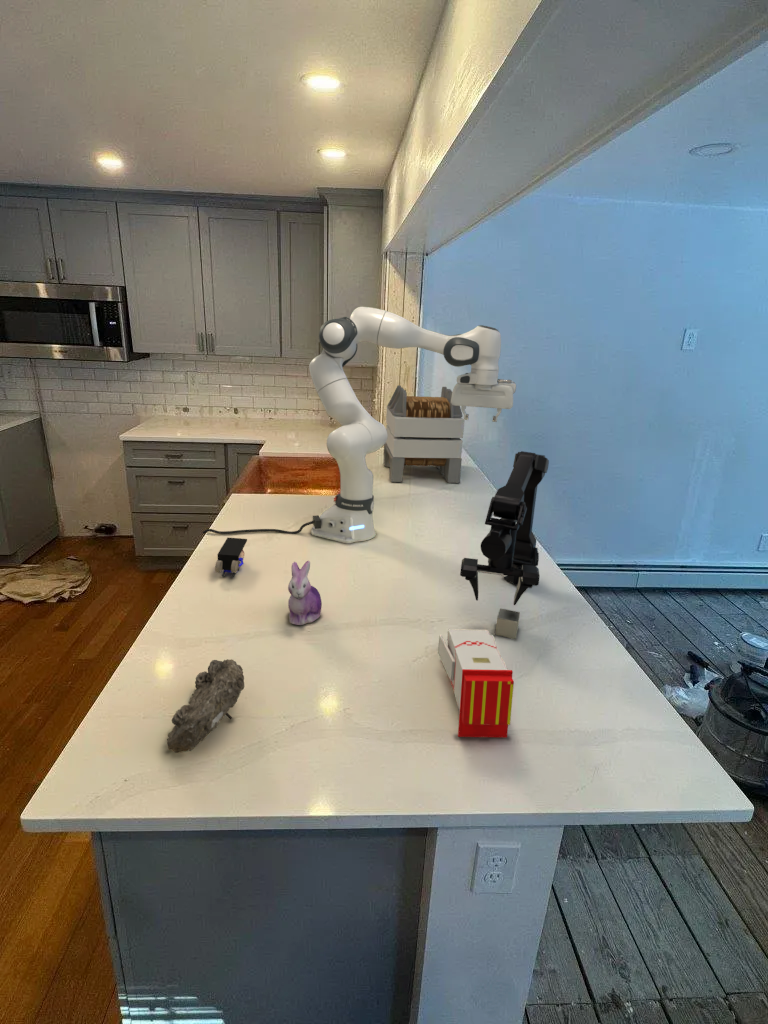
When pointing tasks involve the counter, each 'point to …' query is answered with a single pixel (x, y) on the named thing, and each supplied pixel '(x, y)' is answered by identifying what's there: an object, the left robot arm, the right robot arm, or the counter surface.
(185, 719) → the fossil
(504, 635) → the beige cube
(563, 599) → the counter surface
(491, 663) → the toy
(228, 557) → the figurine character
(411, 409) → the transformer
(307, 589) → the figurine
